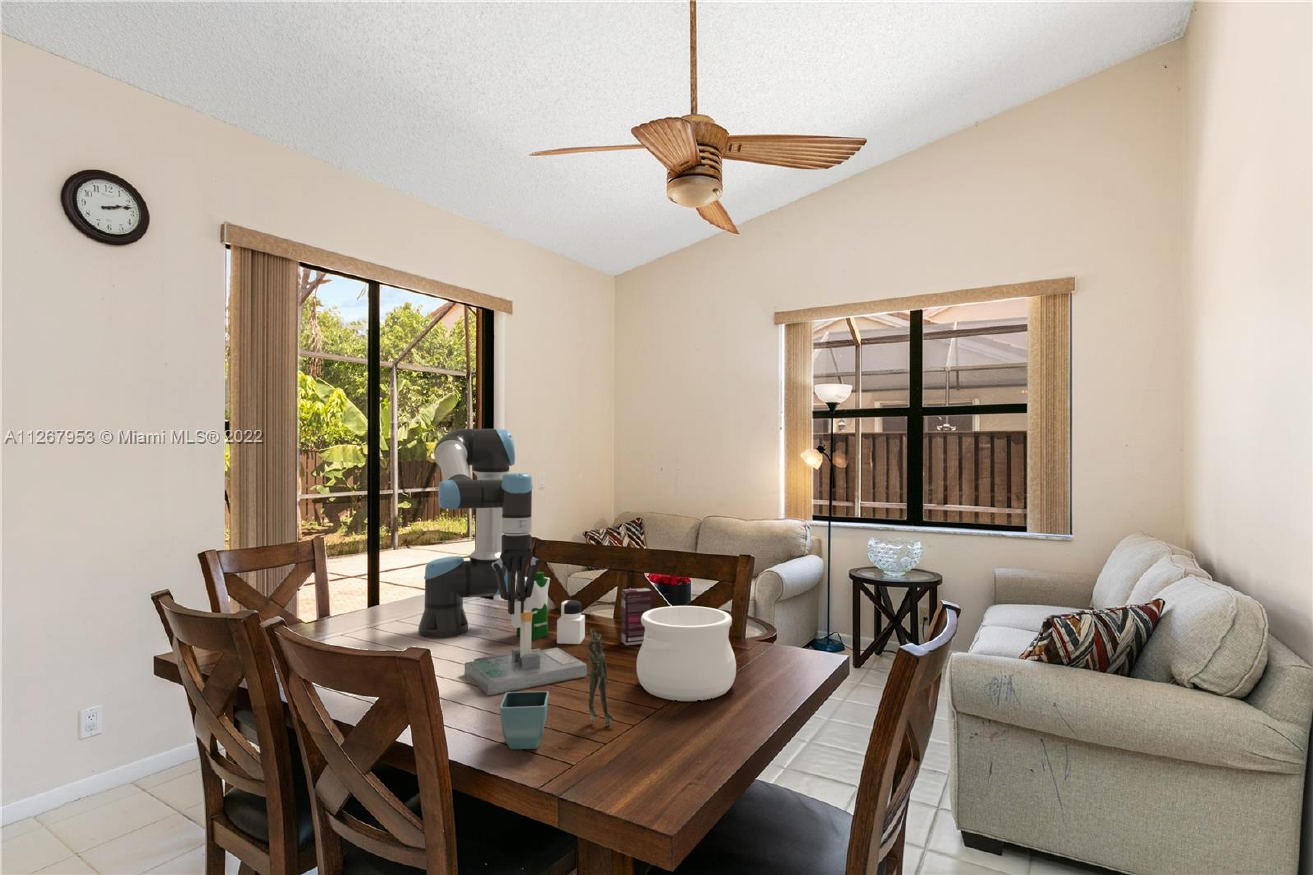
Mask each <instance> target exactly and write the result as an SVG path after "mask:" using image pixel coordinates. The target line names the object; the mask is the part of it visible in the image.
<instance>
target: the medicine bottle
mask: <svg viewBox="0 0 1313 875" xmlns="http://www.w3.org/2000/svg"><path fill="white" fill-rule="evenodd" d="M560 604H561V605H560V606H561V607H560V612H561V613H560V615H561V616H560V617H559V618H557V620H556V644H561V645H562V644H565V645H569V644H570V645H580V644H582V642H583V641H584V639H585V638H586V635H585V634H586V632H585V631H586V630H585V629H586V628H585V627H586V625H585V624H586V615H585V614H582V603H581V602H580V601H579V600H575V599H570V600H564V601H562V602H561V603H560Z"/></svg>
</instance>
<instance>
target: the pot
mask: <svg viewBox="0 0 1313 875" xmlns="http://www.w3.org/2000/svg"><path fill="white" fill-rule="evenodd" d="M732 622H733V618H732V616H731V615H730V614H729V613H728V612H726V611H724V610H722V609H717V608H713V607H705V606H697V605H671V606H662V607H661V606H660V607H657V608H656V607H655V608H652V610H649V611H646V612H645V613H643V615H642V617H641V623H642V625H643V626H644V627H645V632H644V641H643V643H642V644H641V646H640V648H639V651H638V652H637V658H636V663H635V664H636V674H637V678H638V680H639V683H640V685H641V686H642V688H643V689H644V690H645V691H646V692H647V693H649V695H653V696H654V697H657V698H661V699H664V700H669V701H675V700H677V702H698V701H697V700H701V701H707V699H708V700H711V698H712V699H715V698H718V697H720V696H723V695H724V694H726V693H727V692H729V690H730V688H731V687H732V686H733V684H734V682H735V679H736V676H737V675H736V674H737V661H736V657H735V656H736V655H735V653H734V650H733V648H732V645H731V642H730V639H729V630H728V629H730V627H731V626H732V624H733V623H732Z"/></svg>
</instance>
